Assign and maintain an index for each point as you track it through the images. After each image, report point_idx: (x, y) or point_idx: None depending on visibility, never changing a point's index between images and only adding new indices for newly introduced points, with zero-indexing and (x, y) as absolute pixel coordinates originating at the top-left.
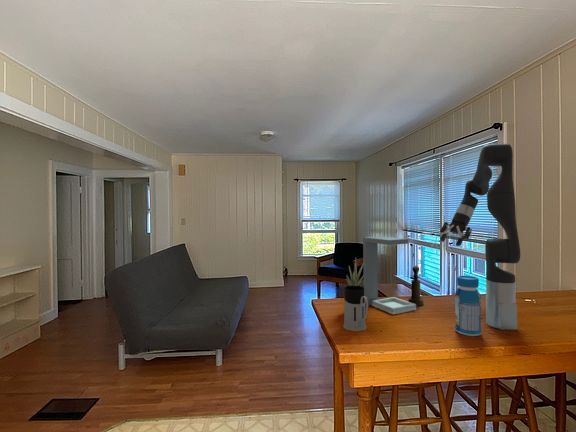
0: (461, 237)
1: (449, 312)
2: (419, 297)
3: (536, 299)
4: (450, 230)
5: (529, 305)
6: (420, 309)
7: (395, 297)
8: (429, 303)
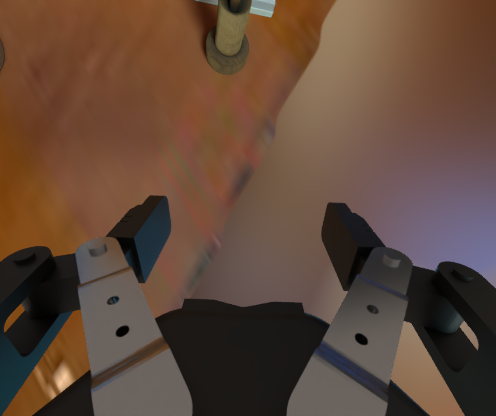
0: (88, 245)
1: (120, 52)
2: (215, 38)
3: None
4: (326, 323)
5: None
6: (183, 12)
7: (268, 3)
8: (207, 89)
